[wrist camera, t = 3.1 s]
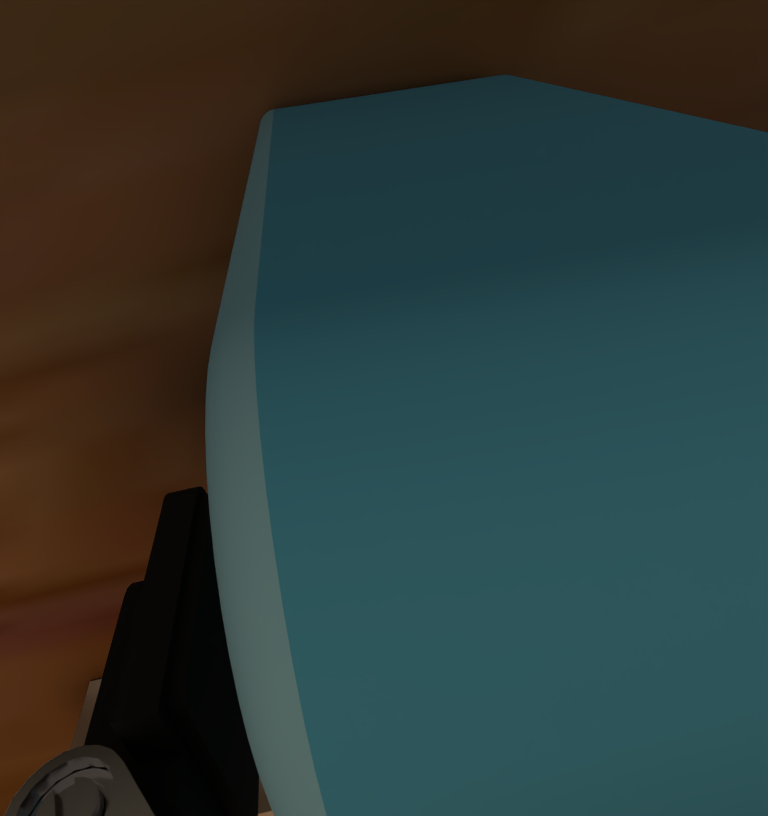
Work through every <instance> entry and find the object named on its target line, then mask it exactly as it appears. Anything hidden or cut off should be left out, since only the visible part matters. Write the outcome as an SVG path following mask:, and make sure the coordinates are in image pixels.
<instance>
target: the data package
mask: <svg viewBox="0 0 768 816" xmlns="http://www.w3.org/2000/svg"><path fill="white" fill-rule="evenodd" d="M205 441H206V471H207V485H208V499H209V514H210V523H211V533H212V542H213V552H214V561H215V568H216V576H217V583H218V590H219V597H220V605H221V611H222V617H223V623H224V629H225V635H226V640H227V646H228V652H229V658H230V662H231V667H232V672H233V677H234V682H235V687H236V692H237V696H238V701H239V705H240V709H241V713H242V717H243V721H244V725H245V729H246V733H247V737H248V741H249V744H250V748H251V751H252V754H253V758H254V761H255V764H256V767H257V771H258V774H259V777H260V780H261V783H262V786H263V788H264V791H265V793H266V796H267V799H268V801H269V804H270V807H271V809H272V812H273V814H274V816H768V132H763V131H759V130H754V129H750V128H745V127H741V126H736V125H732V124H727V123H723V122H718V121H714V120H709V119H705V118H700V117H696V116H691V115H687V114H682V113H678V112H673V111H669V110H664V109H660V108H655V107H651V106H646V105H642V104H637V103H633V102H628V101H624V100H619V99H615V98H610V97H606V96H601V95H597V94H592V93H588V92H583V91H579V90H574V89H570V88H565V87H561V86H556V85H552V84H547V83H543V82H538V81H534V80H529V79H525V78H520V77H516V76H511V75H498V76H492V77H485V78H478V79H472V80H465V81H458V82H452V83H445V84H439V85H432V86H425V87H419V88H412V89H406V90H399V91H392V92H386V93H379V94H373V95H366V96H359V97H353V98H346V99H339V100H333V101H326V102H320V103H313V104H306V105H300V106H293V107H287V108H280V109H274V110H270V111H268V112H267V113H266V114H265V115H264V116H263V117H262V119H261V122H260V126H259V131H258V136H257V140H256V145H255V149H254V154H253V158H252V163H251V168H250V172H249V177H248V181H247V186H246V190H245V195H244V200H243V204H242V209H241V213H240V218H239V222H238V227H237V232H236V236H235V241H234V245H233V250H232V254H231V259H230V263H229V268H228V273H227V277H226V282H225V286H224V291H223V295H222V300H221V305H220V309H219V314H218V318H217V323H216V327H215V332H214V337H213V341H212V346H211V351H210V358H209V364H208V374H207V388H206V410H205Z"/></svg>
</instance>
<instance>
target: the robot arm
mask: <svg viewBox="0 0 768 816" xmlns="http://www.w3.org/2000/svg"><path fill="white" fill-rule="evenodd" d="M258 799H259V774H258V771H257V767H256V764H255V761H254V758H253V754H252V751H251V748H250V744H249V741H248V737H247V733H246V729H245V725H244V721H243V717H242V713H241V709H240V705H239V701H238V696H237V692H236V687H235V682H234V677H233V672H232V667H231V662H230V658H229V652H228V646H227V640H226V635H225V629H224V623H223V617H222V611H221V605H220V597H219V590H218V583H217V576H216V568H215V561H214V552H213V542H212V533H211V523H210V514H209V499H208V494H207V493H206V491H205V490H204V489H203V487H195V488H190V489H186V490H181V491H177V492H172V493H168V494H167V495H166V496H165V498H164V501H163V505H162V509H161V514H160V518H159V522H158V526H157V530H156V534H155V538H154V542H153V546H152V550H151V554H150V559H149V563H148V567H147V571H146V575H145V579H144V581H140V582H135V583H132V584H131V585H130V586H129V587H128V588H127V591H126V593H125V596H124V599H123V603H122V607H121V610H120V614H119V618H118V621H117V625H116V629H115V632H114V636H113V640H112V643H111V647H110V651H109V654H108V658H107V662H106V665H105V669H104V673H103V677H102V680H101V684H100V688H99V691H98V695H97V699H96V702H95V706H94V710H93V713H92V717H91V721H90V724H89V728H88V732H87V735H86V739H85V743H84V746H79V747H77V748H74V749H71V750H68V751H65V752H63V753H61V754H60V755H58V756H56V757H55V758H53V759H51V760H50V761H48V762H47V763H45V764H44V765H43V766H42V767H40V768H39V769H38V770H37V771H36V772H35V773H34V774H33V775H32V776H31V777H30V778H28V779H27V781H26V782H25V783H24V784H23V786H22V787H21V788H20V790H19V791H18V792H17V794H16V795H15V796H14V797H13V799H12V801H11V803H10V805H9V807H8V809H7V811H6V813H5V815H4V816H258Z"/></svg>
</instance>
